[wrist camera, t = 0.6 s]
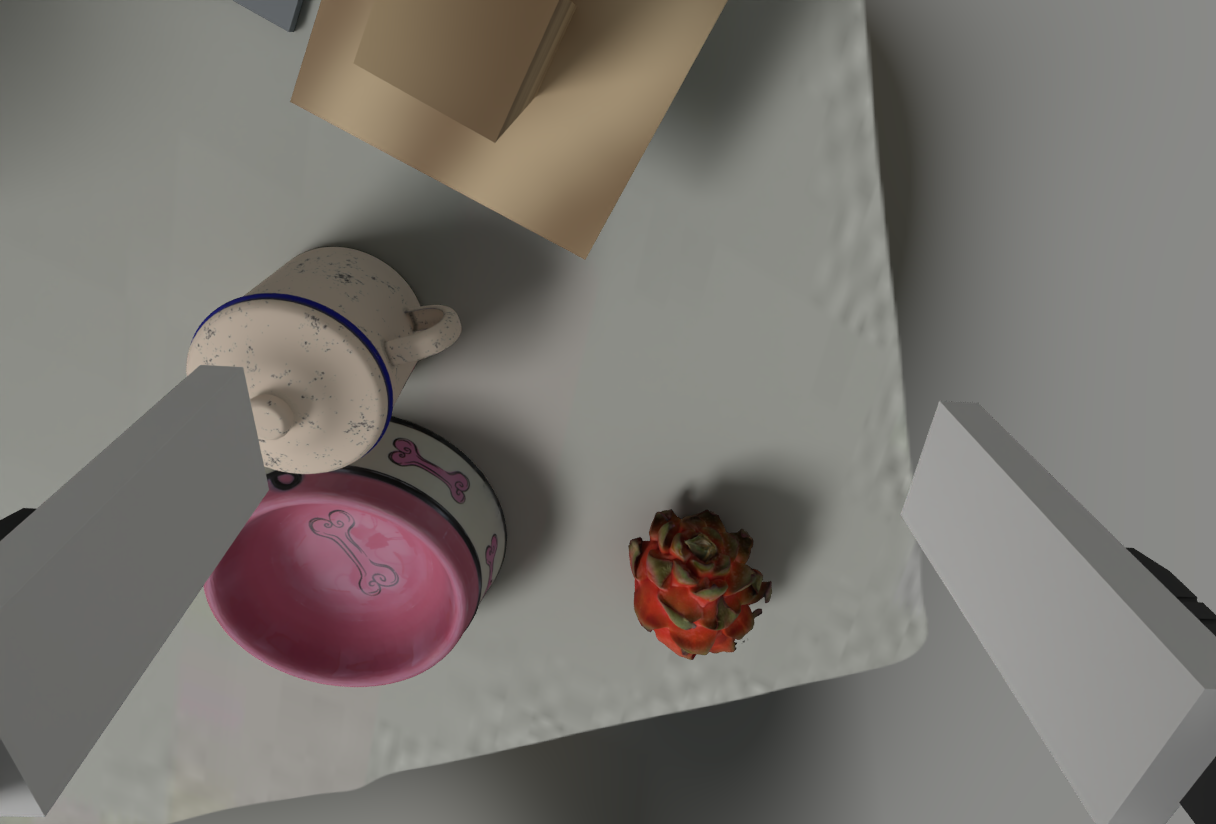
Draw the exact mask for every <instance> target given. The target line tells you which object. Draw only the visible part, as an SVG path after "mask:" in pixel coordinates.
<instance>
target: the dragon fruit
mask: <svg viewBox="0 0 1216 824" xmlns="http://www.w3.org/2000/svg"><path fill="white" fill-rule="evenodd" d="M649 535H650V541H642V538H641V537H639V538H636V539H632V540H631V541H630V545H629V557H630V566H631V570H632V573H633V576H634V578H635V592H634V610H635V613H636V615H637V617H638V620H639V622H640V624H641V626H643V627H644V628H645V629H646V630H647V631H649V632H651V631H652V630H654V631H655V633H656V637H657V639H658V640H659V641H660V642H662V643H663V644H665V645H666V646H667V647H668V648H670V649H671V650H672V651H674V652H675V653H676V654H677V655H679V656H681V657H684V658H687V659H690V660H693V659H694V657H695V656H696V654H701V655H707V654H708V653H709V652H712V653H719V652H723V651H725V652H734V651H735V650H736V648H735V645H736V644H737V643H735V642H734V641H735V639H737V640H740V639H742V638H743V637H744V636H745V635H746V634H747V633H748V632H749V631H750V630H752V629H753V625H754V618H755V617H757V616H759V615H760V614H762V609H756V610H755V611H753V612H751V609H750V607H749V605H750V604H753V603H756V602H758V601H759V600H760V599H762V598H763V597H765V603H768V602H769V600H770V598H771V594H772V582H771V581H770V582H762V580H763V575H762V573H761V572H759V571H758V570H756V569H752V568H750V567H749V566H748V565H746V564H745V563H746V562H747V560H748V558H749V555H750V553H751V548H752V547H753V539H752V538H751V537H750V536H749V534H748V533H747V532H746V531H744V530H743V529H741V530H740V531H739V532H737V533H728V532H726V530H725V527H724V525H723V523H722V522H721V520H720V517H719V516H718V515H716V514H715V513H713V512H711V511H709V510H705V511H703V512H701V513H699V514H696V515H691V516H686V517H684V518H683V519H682V520H681V519H680V518H679V517H677V516H676V515H675V513H674V512H673V511H672V509H671V510H665V511H662V512H657V513H656V515H655V517H654V519H653V522H652V524H651V527H650V531H649ZM743 642H745V641H743ZM742 644H743V643H742Z"/></svg>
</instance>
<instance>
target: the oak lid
mask: <svg viewBox="0 0 1216 824" xmlns="http://www.w3.org/2000/svg"><path fill="white" fill-rule="evenodd" d="M727 1H728V0H321V3H320V6H319V10H318V13H317V16H316V19H315V23H314V26H313V29H312V33H311V36H310V39H309V42H308V46H307V49H306V52H305V55H304V59H303V62H302V65H301V68H300V72H299V75H298V78H297V81H296V85H295V88H294V91H293V94H292V98H291V101H290V102H292V103H294V104H296V105H297V106H299V107H301V108H303V109H305V110H307V111H309V112H310V113H312V114H314V115H316V116H318V117H320V118H322V119H324V120H325V121H327V122H329V123H331V124H333V125H335V126H337V127H338V128H340V129H342V130H344V131H346V132H348V133H350V134H351V135H353V136H355V137H357V138H359V139H361V140H363V141H365V142H366V143H368V144H370V145H372V146H374V147H376V148H378V149H379V150H381V151H383V152H385V153H387V154H389V155H391V156H393V157H394V158H396V159H398V160H400V161H402V162H404V163H406V164H407V165H409V166H411V167H413V168H415V169H417V170H419V171H421V172H422V173H424V174H426V175H428V176H430V177H432V178H434V179H435V180H437V181H439V182H441V183H443V184H445V185H447V186H449V187H450V188H452V189H454V190H456V191H458V192H460V193H462V194H463V195H465V196H467V197H469V198H471V199H473V200H475V201H476V202H478V203H480V204H482V205H484V206H486V207H488V208H490V209H491V210H493V211H495V212H497V213H499V214H501V215H503V216H504V217H506V218H508V219H510V220H512V221H514V222H516V223H518V224H519V225H521V226H523V227H525V228H527V229H529V230H531V231H532V232H534V233H536V234H538V235H540V236H542V237H544V238H546V239H547V240H549V241H551V242H553V243H555V244H557V245H559V246H560V247H562V248H564V249H566V250H568V251H570V252H572V253H574V254H575V255H577V256H579V257H581V258H583V259H586V257H587V256H588V254H589V252H590V250H591V248H592V246H593V245H594V243H595V241H596V239H597V237H598V236H599V234H600V232H601V230H602V228H603V226H604V225H605V223H606V221H607V219H608V217H609V216H610V214H611V212H612V210H613V208H614V206H615V205H616V203H617V201H618V199H619V197H620V196H621V194H622V192H623V190H624V188H625V186H626V185H627V183H628V181H629V179H630V177H631V175H632V174H633V172H634V170H635V168H636V166H637V165H638V163H639V161H640V159H641V157H642V155H643V154H644V152H645V150H646V148H647V146H648V145H649V143H650V141H651V139H652V137H653V135H654V134H655V132H656V130H657V128H658V126H659V125H660V123H661V121H662V119H663V117H664V115H665V114H666V112H667V110H668V108H669V106H670V104H671V103H672V101H673V99H674V97H675V95H676V94H677V92H678V90H679V88H680V86H681V84H682V83H683V81H684V79H685V77H686V75H687V74H688V72H689V70H690V68H691V66H692V64H693V63H694V61H695V59H696V57H697V55H698V54H699V52H700V50H701V48H702V46H703V44H704V43H705V41H706V39H707V37H708V35H709V33H710V32H711V30H712V28H713V26H714V24H715V23H716V21H717V19H718V17H719V15H720V13H721V12H722V10H723V8H724V6H725V4H726V3H727Z"/></svg>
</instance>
